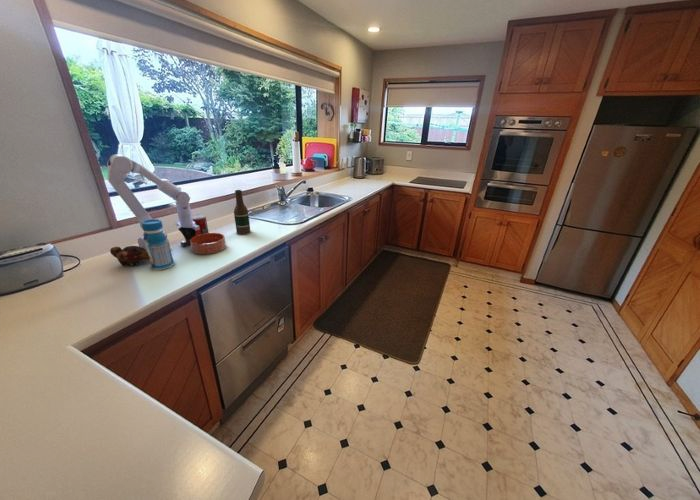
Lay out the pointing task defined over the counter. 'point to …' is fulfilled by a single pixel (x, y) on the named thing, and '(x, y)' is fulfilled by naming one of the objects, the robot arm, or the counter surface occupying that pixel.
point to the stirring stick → (185, 243)
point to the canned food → (200, 224)
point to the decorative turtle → (130, 254)
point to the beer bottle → (241, 215)
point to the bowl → (208, 243)
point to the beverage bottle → (157, 244)
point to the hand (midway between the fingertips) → (190, 241)
